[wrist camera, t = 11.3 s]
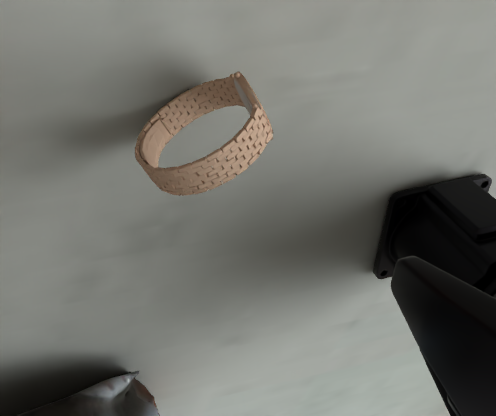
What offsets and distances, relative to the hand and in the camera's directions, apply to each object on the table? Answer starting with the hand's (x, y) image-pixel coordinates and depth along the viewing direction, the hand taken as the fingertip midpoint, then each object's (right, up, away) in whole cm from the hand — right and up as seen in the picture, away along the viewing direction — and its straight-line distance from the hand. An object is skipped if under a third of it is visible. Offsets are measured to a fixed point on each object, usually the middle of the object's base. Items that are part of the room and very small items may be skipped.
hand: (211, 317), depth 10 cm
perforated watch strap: (-2, +7, +9) cm, 11 cm away
